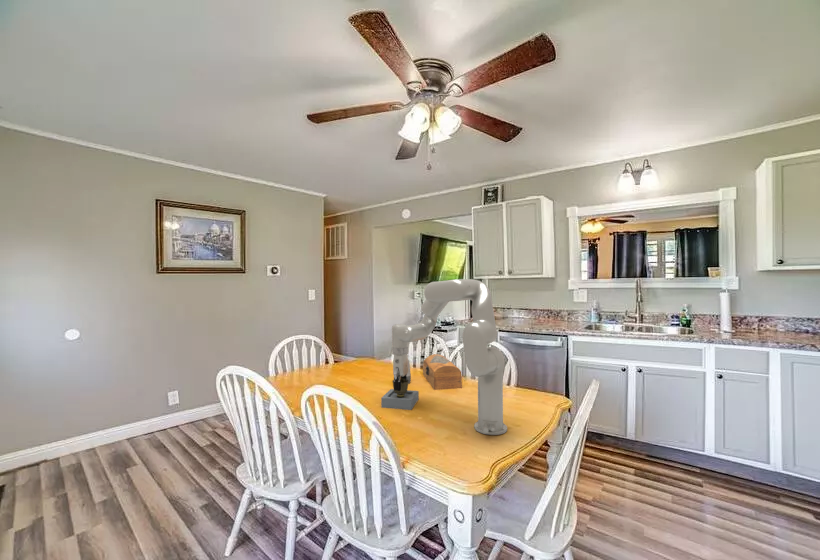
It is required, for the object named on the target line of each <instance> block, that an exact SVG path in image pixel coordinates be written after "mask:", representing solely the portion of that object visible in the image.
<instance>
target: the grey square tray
mask: <svg viewBox="0 0 820 560" xmlns="http://www.w3.org/2000/svg"><path fill="white" fill-rule="evenodd" d="M419 392H420V391H419V390H411V389H409V390H408V389H407V392H406V393H405V394H404V395H405V396H404V397H403V398H398V397H397V394H396V393H395V392H394V388H390V389H389V390H388V391H386V393H385V394H384V395H383V396H382V397H381V400H380V401H381V402H380V403H381V406H380V407H381V408H382V409H383V408H384V409H395V410H396V409H397V410H405V411H406V410H407V411H412V409H413V408H414V407H415V405H416V404H417V403H418V401H419Z"/></svg>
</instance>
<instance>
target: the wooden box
mask: <svg viewBox="0 0 820 560" xmlns="http://www.w3.org/2000/svg"><path fill="white" fill-rule="evenodd" d="M422 365H423V366H422V375H423V377H424V378H425V379H426V380H427V381H428V384H430V386H431V387H432V389H433V390H434V391H436V390H437V391H440V390H452V389H457V390H458V389H462V387H463V380H462V379H463V378H462V371H461V369H460V368H459V367H458V366H456V365H455V364H454V363H453V362H452V361H450V360H449V359H448V358H447V357H445V356H444V355H442V354H437V353H436V354H435V353H433V354H431V355H428V356H427V357H426V358H425V359H424V360H423V363H422Z"/></svg>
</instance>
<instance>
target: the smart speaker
mask: <svg viewBox="0 0 820 560" xmlns="http://www.w3.org/2000/svg"><path fill="white" fill-rule="evenodd" d="M398 378H399V377H398ZM407 379H408V380H409V381H408V385H409V384H410V383H411V380H412V375H411V365H410V360H408V373H407Z"/></svg>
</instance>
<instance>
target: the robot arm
mask: <svg viewBox="0 0 820 560" xmlns="http://www.w3.org/2000/svg"><path fill="white" fill-rule="evenodd" d="M423 295H424V298H425V300H424V301H423V303H422V304H421V306H420V307H421V312H422V313H423V314H424V317H422V319H421V320H420V321H419V322H418V323H416V324H409V325H407V324H406V323H405V324H404V323H396V324H393V325H392V327H391V349H392V350H391V354H392V355H393V361H392V362H393V365H392V367H393V368H392V371H393V380H394V388H393V389H394V390H398V391H400V390H401V382H400V380H401V378H403V379H406V380H407V373H408V361H409V359H408V358H409V357H408V356H409V343H413V342H416V341H423V340H425V339H427V337H428V336H429V335H430V334H431V333H432V332H433V330H434V329H435V327H436V326H437V323H438V317H439V315H440V314H441V312H442V311H443V310H444V309H445V307H446V306H447V305H448V304H449V302H461V301H472V303H471V316H472V322H469V323H467V324H466V325H465V327H463V331H462V344H463V352H464V357H465V364H466V367H467V370H468V371H469V372H470V374H471V375H473V376H474V377H477V421H476V422H475V423H474V426H473V428H474V430H475V431H477V432H478V433H480V434H484V435H490V436H499V435H500V436H501V435H502V434H505V433H506V432H507V431H508V425H506V424H505V423H504V399H503V398H504V391H503V390H504V380H503V379H504V371H505V356H504V354H503V352H502V351H501V350H500V349H499V348H497V347H493V346H488V345H489V344H492V343H494V342H495V340H496V339H497V337H498V331H497V324H496V318H495V312H494V306H493V298H492V293H491V290H490V288H489V287H488V285H486V283H484V282H483V281H481V280H477V279H475V278H474V279H473V278H471V279H470V278H464V279H463V278H458V279H448V280H441V281H439V280H438V281H431V282H429V283H428V284H427V285H426V286H425V288H424V292H423ZM398 377H399V378H398Z"/></svg>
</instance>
